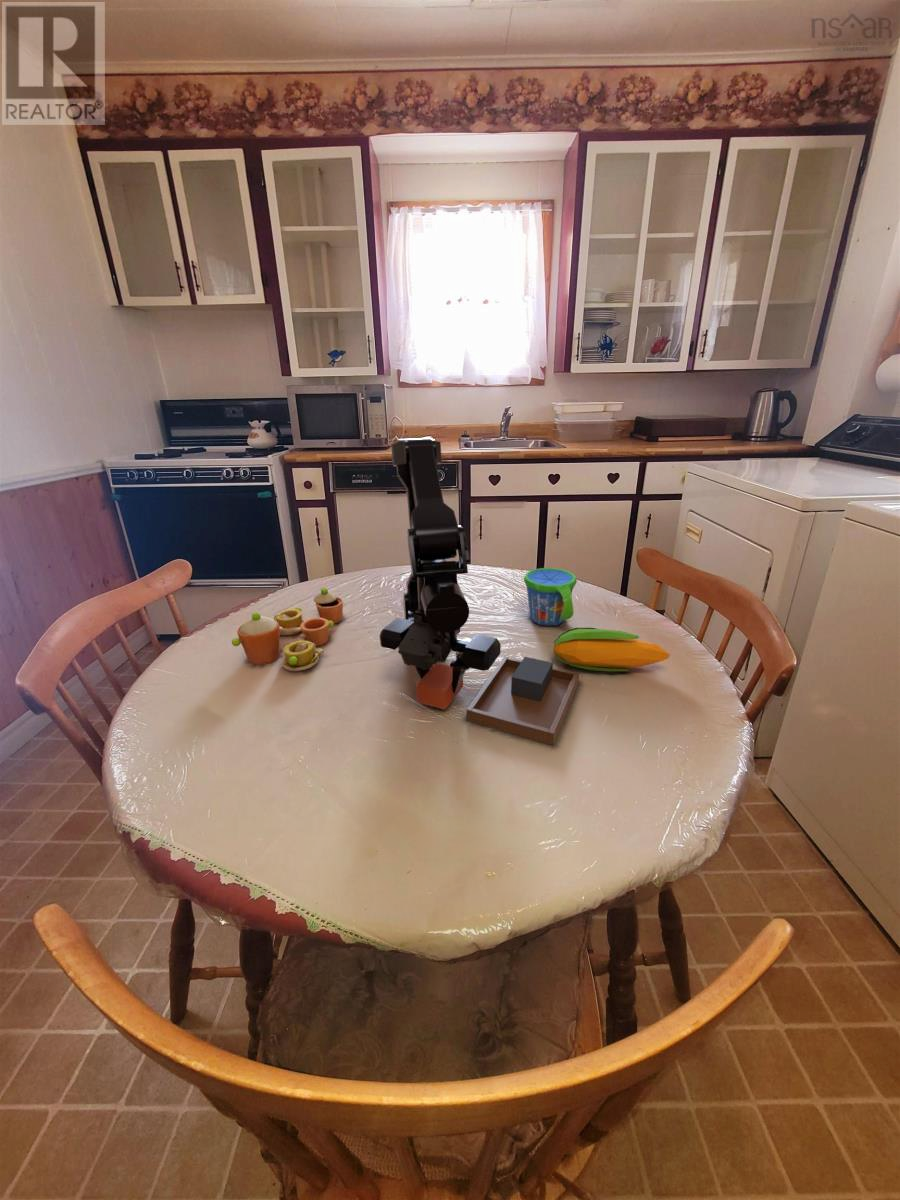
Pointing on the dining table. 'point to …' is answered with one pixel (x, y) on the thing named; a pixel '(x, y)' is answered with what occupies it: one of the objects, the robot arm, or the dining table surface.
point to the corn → (605, 649)
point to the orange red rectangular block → (437, 687)
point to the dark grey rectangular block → (531, 678)
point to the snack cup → (550, 595)
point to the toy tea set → (265, 634)
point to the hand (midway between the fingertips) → (440, 687)
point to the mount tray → (523, 704)
